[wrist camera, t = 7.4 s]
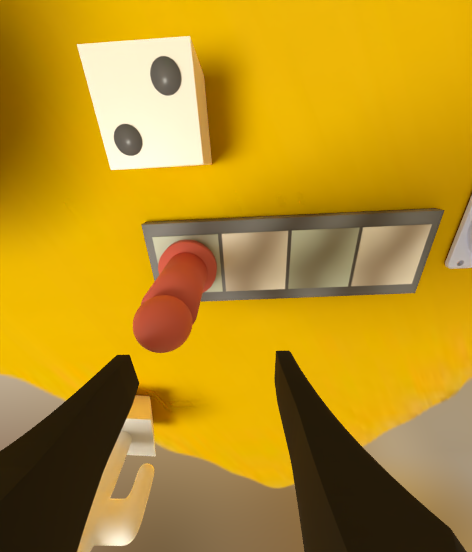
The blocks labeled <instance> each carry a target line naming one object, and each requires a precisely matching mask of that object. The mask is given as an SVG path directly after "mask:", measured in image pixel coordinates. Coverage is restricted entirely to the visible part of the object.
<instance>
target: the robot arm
mask: <svg viewBox="0 0 472 552" xmlns="http://www.w3.org/2000/svg"><path fill="white" fill-rule="evenodd" d="M459 261H460V262H459ZM458 262H459V263H458ZM457 263H458V264H457ZM445 266H446V267H448V268H451V269H454V268H472V196H471V198H470V201H469V203H468V206H467V208H466V211H465V213H464V216H463V219H462V221H461V224H460V226H459V229H458V231H457V234H456V236H455V239H454V241H453V244H452V246H451V249H450V251H449V254H448V256H447V259H446V261H445ZM138 385H139V381H138V379H137V376H136V373H135V370H134V367H133V364H132V361H131V358H130V355H117V356H116V357H115V358H113V359H112V360H111V361H110V362H109V363H108V364H107V365H106V366H105V367H103V368H102V369H101V370H100V371H99V372H98V373H97V374H96V375H95V376H94V377H93V378H91V379H90V380H89V381H88V382H87V383H86V384H85V385H84V386H83V387H81V388H80V389H79V390H78V391H77V392H76V393H75V394H74V395H72V396H71V397H70V398H69V399H68V400H66V401H65V402H64V403H63V404H62V405H61V406H59V407H58V408H57V409H56V410H55V411H54V412H52V413H51V414H50V415H49V416H47V417H46V418H45V419H44V420H42V421H41V422H40V423H39V424H37V425H36V426H35V427H33V428H32V429H31V430H30V431H28V432H27V433H25V434H24V435H23V436H21V437H20V438H19V439H17V440H16V441H14V442H13V443H12V444H10V445H9V446H7V447H6V448H4V449H3V450H1V451H0V552H77V550H78V547H79V544H80V540H81V537H82V534H83V531H84V527H85V524H86V521H87V518H88V515H89V512H90V509H91V506H92V503H93V500H94V497H95V494H96V491H97V489H98V486H99V483H100V480H101V477H102V474H103V472H104V469H105V466H106V464H107V462H108V459H109V457H110V455H111V452H112V450H113V448H114V446H115V443H116V441H117V439H118V437H119V434H120V432H121V430H122V428H123V425H124V423H125V421H126V419H127V416H128V414H129V412H130V409H131V407H132V405H133V402H134V399H135V395H136V392H137V389H138ZM275 387H276V395H277V402H278V407H279V411H280V415H281V420H282V424H283V428H284V433H285V437H286V441H287V446H288V450H289V454H290V459H291V464H292V469H293V476H294V482H295V489H296V495H297V502H298V509H299V516H300V523H301V530H302V537H303V544H304V551H305V552H466V551H465V549H464V547H463V546H462V545H461V543H460V542H459V540H458V539H457V538H456V536H455V535H454V533H453V532H452V530H451V529H450V528H449V527H448V526H447V525H445V524H444V523H443V522H442V521H441V520H440V519H439V518H438V517H436V516H435V515H434V514H433V513H432V512H430V511H429V510H428V509H427V508H426V507H425V506H424V505H422V504H421V503H420V502H419V501H418V500H417V499H416V498H414V496H412V495H411V494H410V493H409V492H408V491H407V490H406V489H405V488H404V487H403V486H402V485H400V484H399V483H398V482H397V481H396V480H395V479H394V478H393V477H392V476H391V475H390V474H389V473H388V472H387V471H386V470H385V469H384V468H383V467H382V466H381V465H379V464H378V462H377V461H376V460H374V458H373V457H371V455H370V454H369V453H368V452H366V450H364V448H363V447H362V446H361V445H360V444H359V443H358V442H357V441H356V440H355V439H354V438H353V437H352V435H351V434H350V433H349V432H348V431H347V430H346V429H345V428H344V426H343V425H342V424H341V423H340V422H339V421H338V420H337V418H336V417H335V416H334V415H333V413H332V412H331V411H330V410H329V408H328V407H327V406H326V405H325V403H324V402H323V401H322V399H321V398H320V397H319V395H318V394H317V393H316V391H315V390H314V388H313V387H312V386H311V384H310V383H309V381H308V380H307V378H306V377H305V375H304V374H303V372H302V371H301V369H300V368H299V366H298V364H297V363H296V361H295V359H294V357H293V356H292V354H291V352H290V351H276V363H275Z"/></svg>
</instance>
